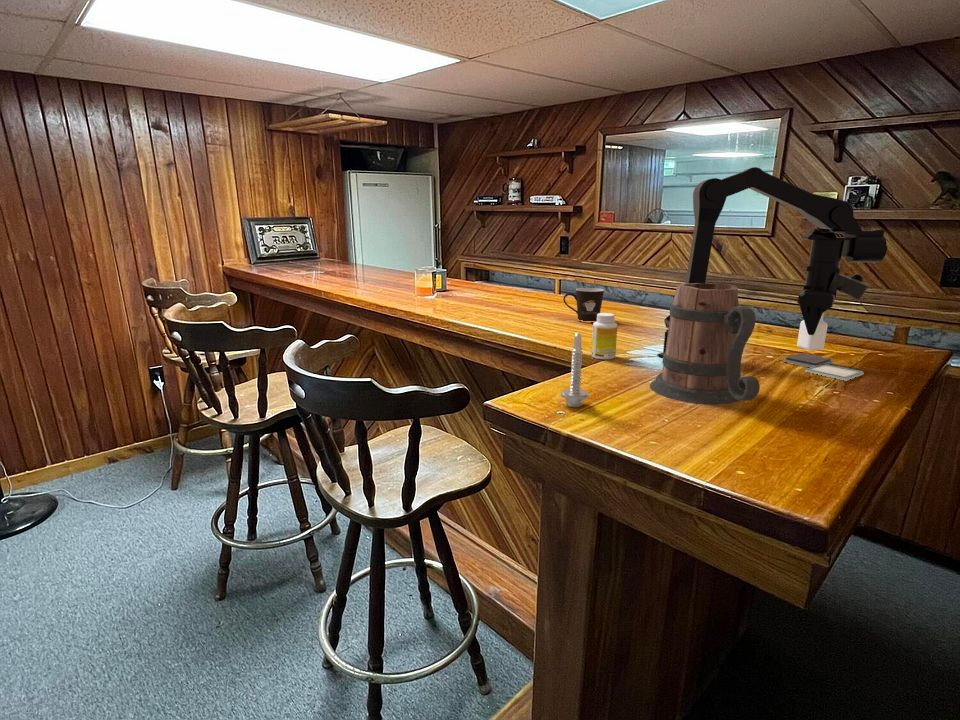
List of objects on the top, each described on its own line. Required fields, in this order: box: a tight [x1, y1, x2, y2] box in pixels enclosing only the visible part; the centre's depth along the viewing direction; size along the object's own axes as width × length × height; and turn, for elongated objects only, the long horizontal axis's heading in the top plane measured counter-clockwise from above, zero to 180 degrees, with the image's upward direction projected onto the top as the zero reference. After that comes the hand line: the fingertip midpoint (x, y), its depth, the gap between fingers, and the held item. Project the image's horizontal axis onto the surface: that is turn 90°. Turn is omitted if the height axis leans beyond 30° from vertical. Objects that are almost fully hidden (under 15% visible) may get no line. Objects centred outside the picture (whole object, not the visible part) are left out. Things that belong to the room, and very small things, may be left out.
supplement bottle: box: [591, 312, 618, 361], centre depth 124 cm, size 6×6×10 cm
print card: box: [804, 364, 865, 382], centre depth 112 cm, size 8×8×1 cm
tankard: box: [649, 283, 761, 406], centre depth 96 cm, size 24×17×20 cm
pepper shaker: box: [796, 311, 829, 351], centre depth 118 cm, size 4×4×10 cm
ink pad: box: [782, 352, 834, 368], centre depth 120 cm, size 8×7×1 cm
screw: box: [560, 332, 590, 408], centre depth 92 cm, size 13×5×5 cm
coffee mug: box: [563, 287, 605, 321], centre depth 168 cm, size 12×9×10 cm
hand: (812, 332), depth 118 cm, fingers closed on pepper shaker, 5 cm apart
